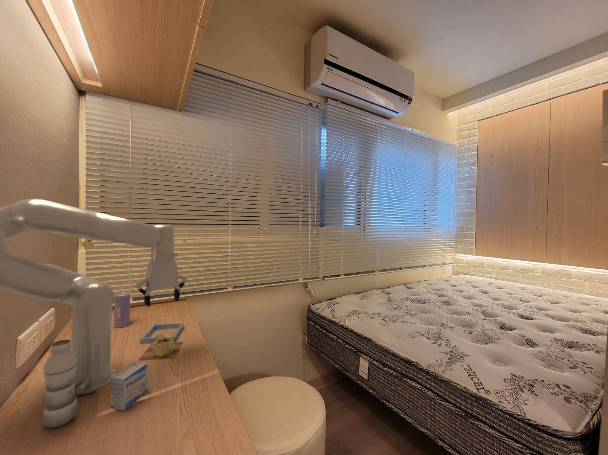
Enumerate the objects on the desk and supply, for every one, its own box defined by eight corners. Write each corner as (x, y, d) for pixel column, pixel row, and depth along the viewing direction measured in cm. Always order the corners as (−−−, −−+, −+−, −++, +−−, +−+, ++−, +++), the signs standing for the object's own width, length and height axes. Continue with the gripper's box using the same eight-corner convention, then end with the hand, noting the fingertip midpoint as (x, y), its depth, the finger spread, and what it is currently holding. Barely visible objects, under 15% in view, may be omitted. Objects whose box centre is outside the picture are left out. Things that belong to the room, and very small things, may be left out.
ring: (174, 353, 96) (175, 341, 96) (155, 359, 92) (155, 347, 92) (167, 343, 104) (168, 332, 104) (149, 348, 100) (149, 336, 100)
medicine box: (124, 411, 69) (124, 379, 68) (110, 408, 70) (110, 377, 69) (147, 392, 76) (148, 363, 76) (134, 390, 77) (135, 361, 77)
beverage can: (132, 323, 125) (133, 292, 124) (122, 328, 119) (123, 296, 118) (121, 322, 125) (121, 292, 125) (110, 327, 119) (111, 295, 119)
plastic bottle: (74, 408, 69) (75, 334, 69) (80, 421, 65) (81, 342, 64) (40, 422, 64) (41, 342, 64) (44, 437, 60) (44, 352, 59)
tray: (173, 344, 105) (174, 337, 105) (139, 346, 103) (140, 338, 103) (183, 329, 120) (183, 323, 120) (154, 330, 117) (154, 324, 117)
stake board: (174, 360, 93) (174, 347, 93) (137, 363, 91) (137, 349, 91) (183, 344, 106) (183, 332, 106) (151, 346, 104) (151, 333, 103)
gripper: (183, 254, 105) (183, 296, 106) (133, 258, 93) (133, 305, 94) (190, 256, 100) (190, 300, 100) (137, 261, 88) (138, 311, 88)
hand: (162, 302), depth 97 cm, fingers open, 9 cm apart
